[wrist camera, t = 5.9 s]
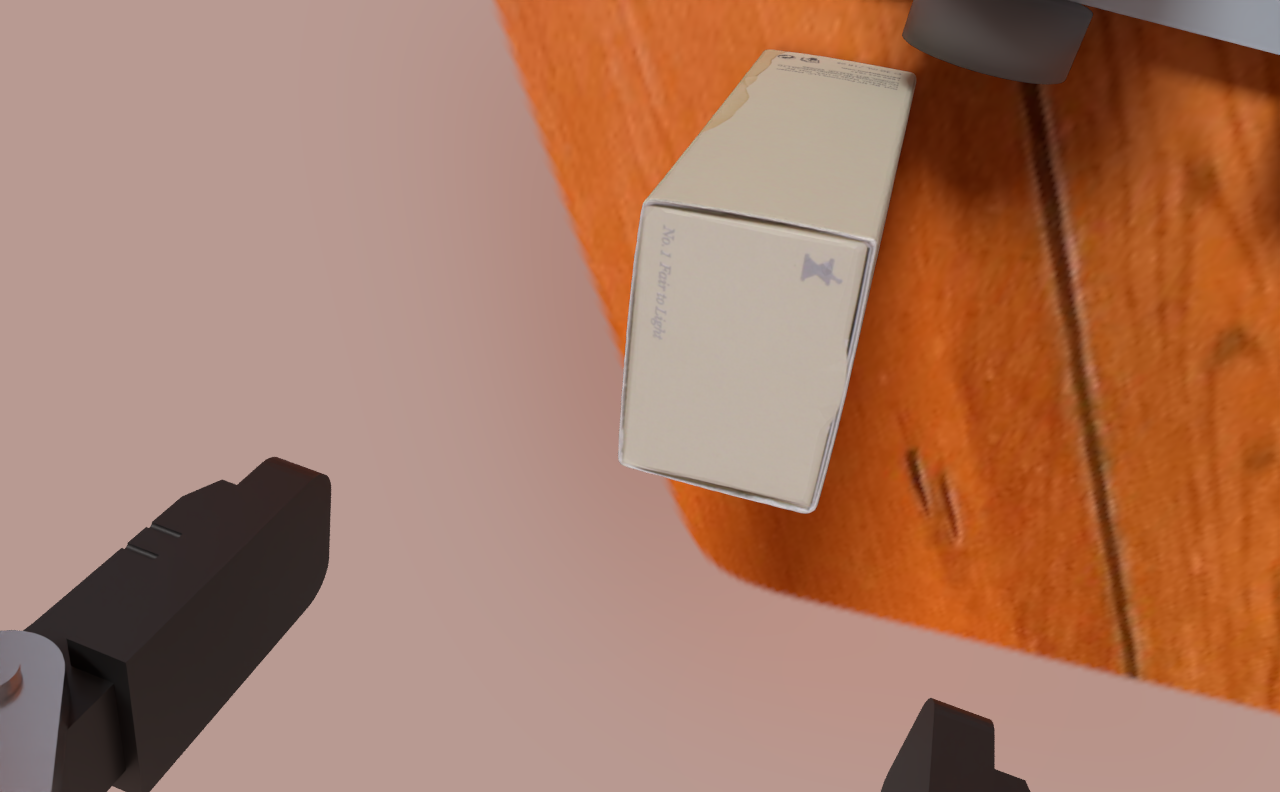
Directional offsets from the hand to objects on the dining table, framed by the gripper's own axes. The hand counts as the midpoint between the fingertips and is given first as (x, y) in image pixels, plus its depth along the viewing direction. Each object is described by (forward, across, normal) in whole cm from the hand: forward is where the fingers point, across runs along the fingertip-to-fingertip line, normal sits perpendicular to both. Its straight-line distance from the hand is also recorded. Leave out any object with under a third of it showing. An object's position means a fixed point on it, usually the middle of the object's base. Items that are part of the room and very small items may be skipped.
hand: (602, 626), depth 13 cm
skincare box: (+20, 0, 0) cm, 20 cm away
